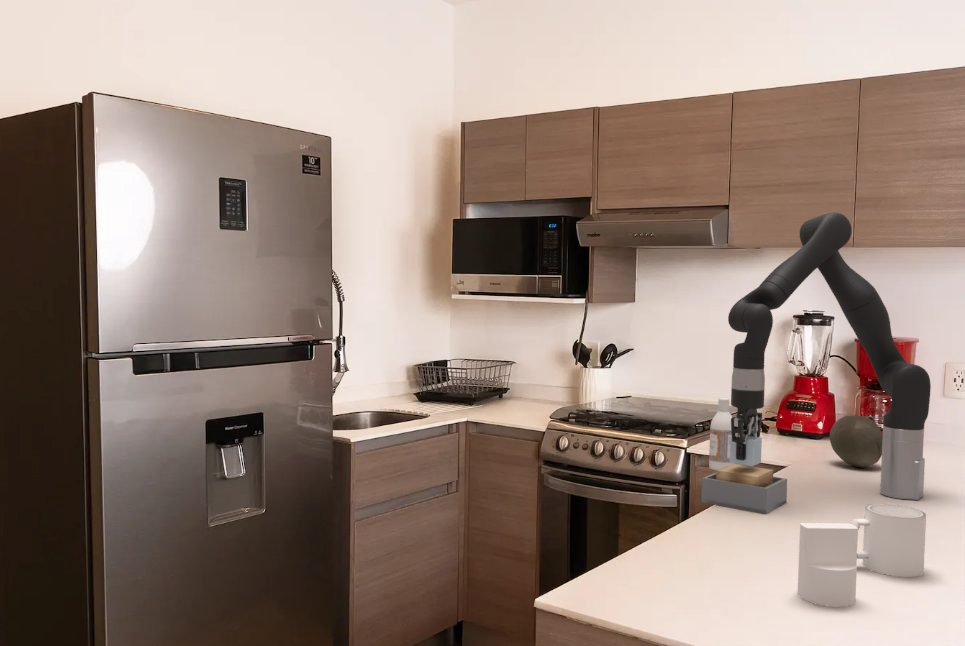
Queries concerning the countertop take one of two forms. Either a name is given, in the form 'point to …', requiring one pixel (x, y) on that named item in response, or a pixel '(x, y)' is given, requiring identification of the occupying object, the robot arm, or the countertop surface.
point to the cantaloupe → (857, 440)
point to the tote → (744, 494)
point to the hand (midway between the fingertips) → (745, 457)
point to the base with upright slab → (828, 563)
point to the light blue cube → (748, 451)
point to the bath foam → (720, 436)
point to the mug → (893, 540)
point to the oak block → (746, 475)
